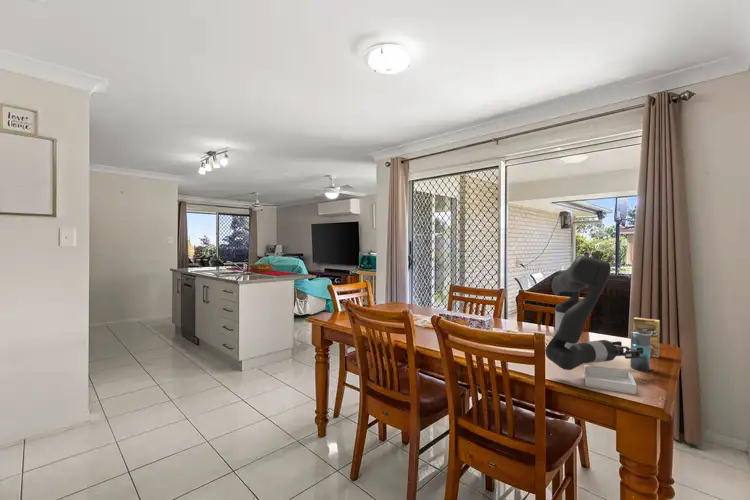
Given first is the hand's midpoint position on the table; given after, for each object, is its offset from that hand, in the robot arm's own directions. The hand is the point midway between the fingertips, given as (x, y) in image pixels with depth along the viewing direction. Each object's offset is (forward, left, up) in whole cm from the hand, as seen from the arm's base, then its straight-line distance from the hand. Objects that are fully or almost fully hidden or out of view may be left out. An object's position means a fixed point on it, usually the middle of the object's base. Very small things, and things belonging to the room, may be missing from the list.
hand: (631, 347), depth 137 cm
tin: (+3, +3, -9) cm, 10 cm away
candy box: (+8, +24, -9) cm, 27 cm away
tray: (-9, -19, -9) cm, 22 cm away
